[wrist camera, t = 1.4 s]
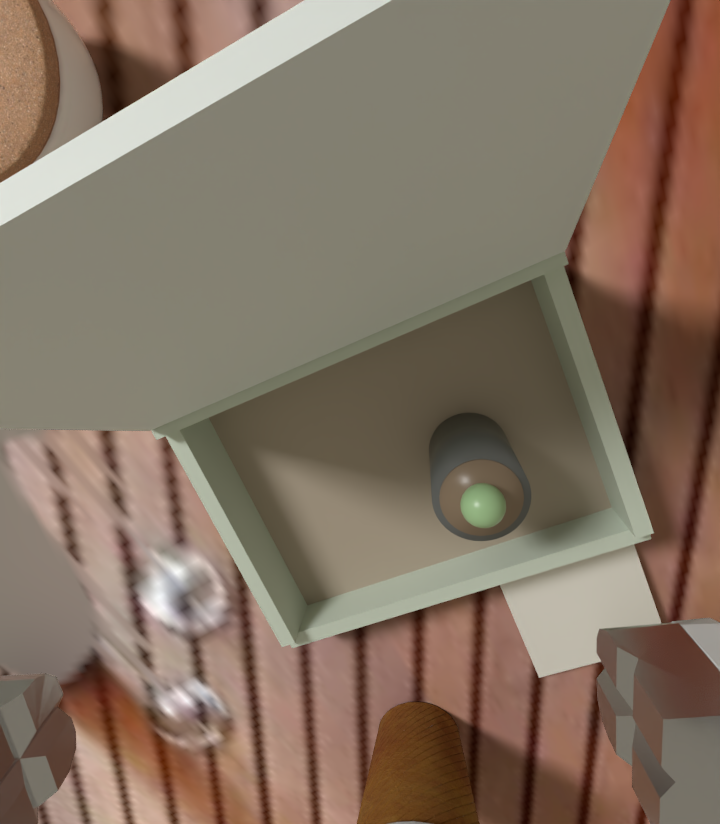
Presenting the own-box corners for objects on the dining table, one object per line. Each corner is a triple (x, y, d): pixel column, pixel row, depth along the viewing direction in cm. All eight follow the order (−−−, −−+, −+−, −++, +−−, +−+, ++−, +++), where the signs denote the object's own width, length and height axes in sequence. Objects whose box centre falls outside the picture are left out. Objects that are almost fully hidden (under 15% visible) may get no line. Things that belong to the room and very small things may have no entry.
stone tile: (625, 526, 34) (629, 532, 33) (663, 635, 36) (668, 643, 35) (493, 567, 36) (495, 574, 35) (536, 669, 38) (539, 677, 37)
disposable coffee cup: (351, 685, 40) (324, 854, 28) (476, 682, 39) (500, 859, 27) (366, 779, 42) (347, 970, 31) (484, 780, 41) (509, 980, 30)
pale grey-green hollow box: (497, 133, 28) (745, -277, 7) (628, 511, 34) (1005, 958, 12) (140, 309, 33) (-367, 395, 12) (303, 614, 39) (156, 1061, 17)
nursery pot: (492, 400, 32) (519, 451, 23) (519, 470, 33) (554, 543, 24) (417, 429, 33) (416, 488, 24) (446, 496, 34) (455, 574, 25)
